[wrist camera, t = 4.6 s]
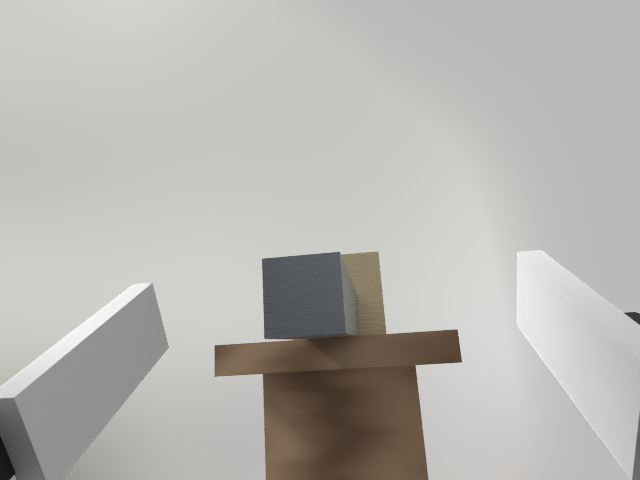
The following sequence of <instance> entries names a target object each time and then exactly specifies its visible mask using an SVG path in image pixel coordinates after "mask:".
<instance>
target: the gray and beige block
mask: <svg viewBox="0 0 640 480" xmlns="http://www.w3.org/2000/svg"><path fill="white" fill-rule="evenodd" d="M262 268H263V302H264V335H265V336H264V337H265V339H294V340H307V339H322V338H337V337H352V336H367V335H382V334H386V326H385V316H384V306H383V295H382V285H381V275H380V265H379V255H378V252H368V253H356V254H345V255H341V254H340V252H334V253H322V254H311V255H300V256H289V257H278V258H266V259H262Z"/></svg>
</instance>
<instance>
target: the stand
mask: <svg viewBox="0 0 640 480" xmlns="http://www.w3.org/2000/svg"><path fill="white" fill-rule="evenodd" d="M457 362H458V363H459V362H462V360H461V353H460V345H459V337H458V331H457V330H443V331H430V332H429V331H428V332H413V333H398V334H382V335H367V336H352V337H337V338H322V339H307V340H292V341H277V342H262V343H246V344H231V345H216V346H215V377H216V376H233V375H249V374H263V389H264V423H265V424H264V425H265V459H266V480H428V473H427V464H426V455H425V446H424V437H423V429H422V419H421V411H420V402H419V393H418V385H417V375H416V367H415V365H423V364H441V363H457Z"/></svg>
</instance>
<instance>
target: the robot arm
mask: <svg viewBox="0 0 640 480" xmlns="http://www.w3.org/2000/svg"><path fill="white" fill-rule="evenodd" d="M517 326H518V328H519V329H520V330H521V332H522V333H523V334H524V336H525V337H526V338H527V340H528V341H529V343H530V344H531V345H532V347H533V348H534V349H535V351H536V352H537V353H538V355H539V356H540V357H541V359H542V360H543V362H544V363H545V364H546V366H547V367H548V368H549V370H550V371H551V372H552V374H553V375H554V376H555V378H556V379H557V381H558V382H559V383H560V385H561V386H562V387H563V389H564V390H565V391H566V393H567V394H568V395H569V397H570V398H571V399H572V401H573V402H574V404H575V405H576V406H577V408H578V409H579V410H580V412H581V413H582V414H583V416H584V417H585V418H586V420H587V421H588V423H589V424H590V425H591V427H592V428H593V429H594V431H595V432H596V433H597V435H598V436H599V438H600V439H601V440H602V442H603V443H604V444H605V446H606V447H607V448H608V450H609V451H610V452H611V454H612V455H613V457H614V458H615V459H616V461H617V462H618V463H619V465H620V466H621V467H622V469H623V470H624V471H625V473H626V474H627V475H628V477H629V478H630V479H631V480H640V314H639V313H636V312H628V313H623V312H622V311H620V310H619V309H618V308H617V307H615V306H614V305H613V304H611V303H610V302H609V301H607V300H606V299H605V298H603V297H602V296H601V295H599V294H598V293H597V292H596V291H594V290H593V289H591V288H590V287H589V286H588V285H586V284H585V283H584V282H582V281H581V280H580V279H578V278H577V277H576V276H575V275H573V274H572V273H571V272H569V271H568V270H567V269H565V268H564V267H563V266H561V265H560V264H559V263H558V262H556V261H555V260H553V259H552V258H551V257H550V256H548V255H547V254H546V253H544V252H543V251H542V250H536V251H524V252H518V253H517ZM168 347H169V346H168V342H167V338H166V334H165V331H164V327H163V323H162V319H161V315H160V311H159V307H158V303H157V299H156V295H155V291H154V287H153V283H145V284H133V285H132V286H131V287H129V288H128V289H127V290H125V291H124V292H123V293H121V294H120V295H119V296H118V297H116V298H115V299H114V300H112V301H111V302H110V303H108V304H107V305H106V306H104V307H103V308H102V309H101V310H99V311H98V312H97V313H95V314H94V315H93V316H91V317H90V318H89V319H88V320H86V321H85V322H84V323H82V324H81V325H80V326H78V327H77V328H76V329H75V330H73V331H72V332H71V333H69V334H68V335H67V336H65V337H64V338H63V339H61V340H60V341H59V342H58V343H56V344H55V345H54V346H52V347H51V348H50V349H48V350H47V351H46V352H44V353H43V354H42V355H41V356H39V357H38V358H37V359H35V360H34V361H33V362H31V363H30V364H29V365H27V366H26V367H25V368H24V369H22V370H21V371H20V372H18V373H17V374H16V375H14V376H13V377H12V378H11V379H9V380H8V381H7V382H5V383H4V384H3V385H2V386H0V480H9V479H11V478H12V476H13V475H14V474H15V476H16V479H17V480H62V479H63V478H64V477H65V475H66V474H67V473H68V472H69V470H70V469H71V468H72V467H73V465H74V464H75V463H76V462H77V461H78V459H79V458H80V457H81V455H82V454H83V453H84V452H85V451H86V449H87V448H88V447H89V446H90V444H91V443H92V442H93V441H94V439H95V438H96V437H97V436H98V434H99V433H100V432H101V431H102V430H103V428H104V427H105V426H106V425H107V423H108V422H109V421H110V420H111V418H112V417H113V416H114V415H115V413H116V412H117V411H118V410H119V408H120V407H121V406H122V404H123V403H124V402H125V401H126V399H127V398H128V397H129V396H130V395H131V393H132V392H133V391H134V390H135V389H136V387H137V386H138V385H139V384H140V382H141V381H142V380H143V379H144V377H145V376H146V375H147V374H148V372H149V371H150V370H151V369H152V367H153V366H154V365H155V364H156V363H157V361H158V360H159V359H160V358H161V356H162V355H163V354H164V353H165V351H166V350H167V349H168Z"/></svg>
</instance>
